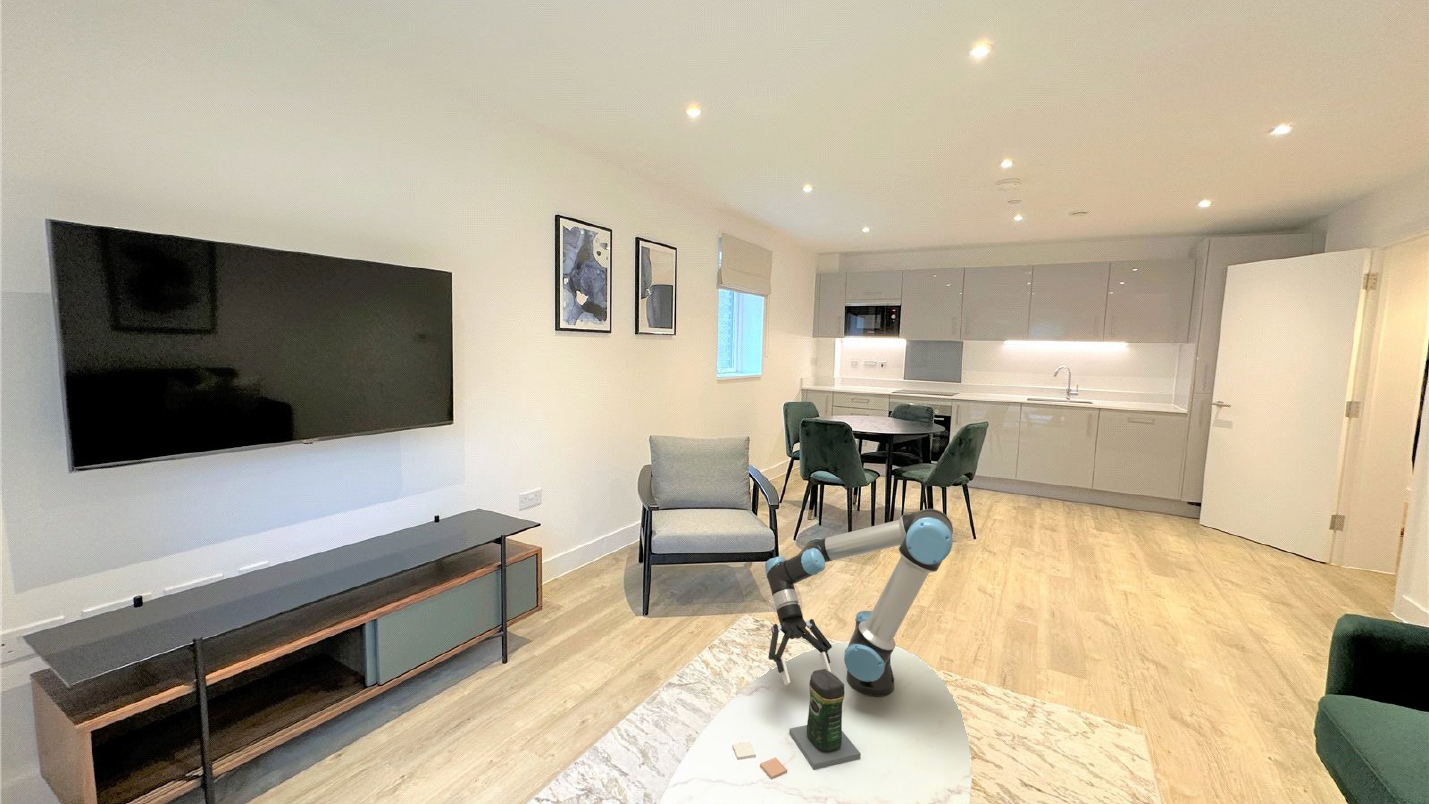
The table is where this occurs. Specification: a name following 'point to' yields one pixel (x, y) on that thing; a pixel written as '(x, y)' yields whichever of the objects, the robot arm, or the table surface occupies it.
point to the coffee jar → (825, 710)
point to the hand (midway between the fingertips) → (808, 680)
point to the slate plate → (823, 757)
